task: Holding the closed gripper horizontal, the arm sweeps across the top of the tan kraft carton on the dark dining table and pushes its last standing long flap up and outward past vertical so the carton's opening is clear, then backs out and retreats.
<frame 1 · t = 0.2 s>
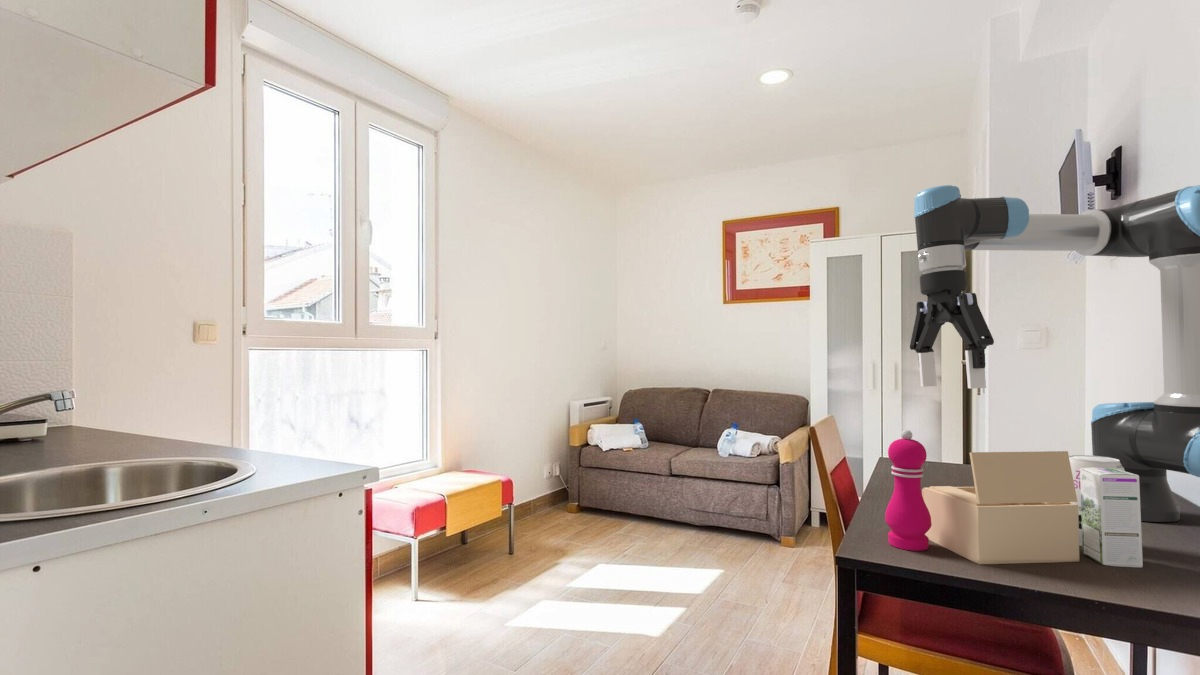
hand: (951, 387, 110), 27 cm above the table, tool pointing down, fingers open, 13 cm apart
long flap: (1023, 477, 97), point 13 cm above the table, hinge at 12.0°
pepper mill: (908, 546, 104), on the table
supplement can: (1095, 545, 105), on the table
syrup box: (1111, 562, 97), on the table
carton: (997, 548, 102), on the table
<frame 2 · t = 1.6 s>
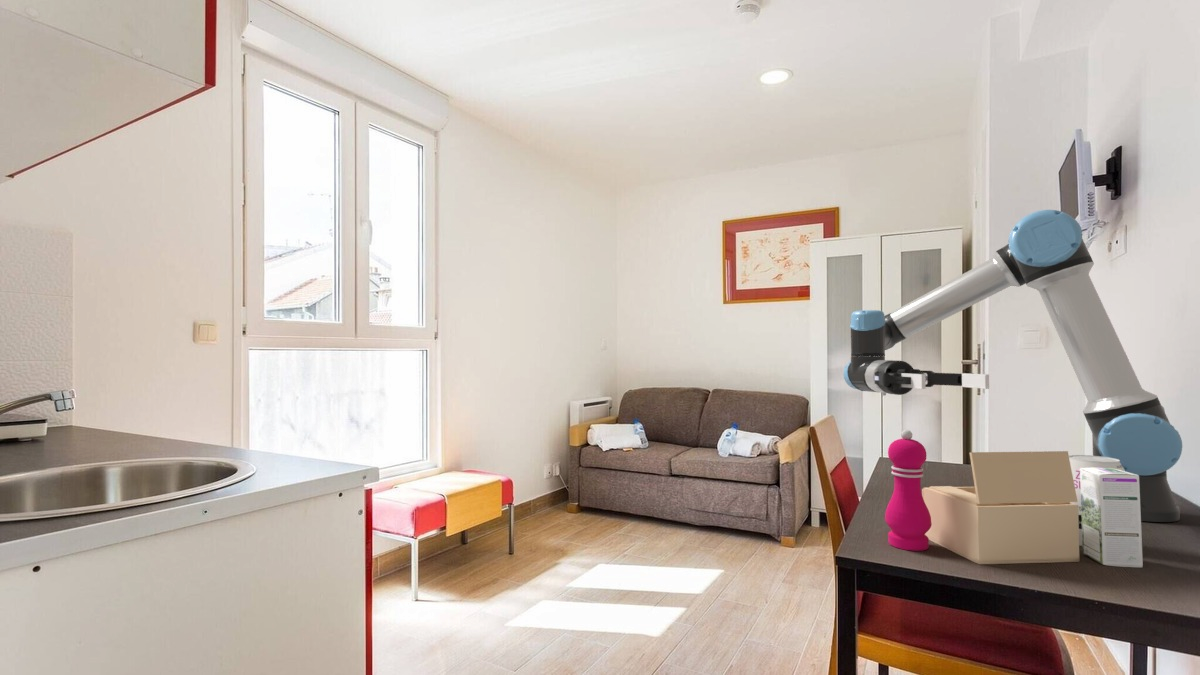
hand: (955, 381, 113), 28 cm above the table, tool horizontal, fingers open, 12 cm apart
nothing on the table moved.
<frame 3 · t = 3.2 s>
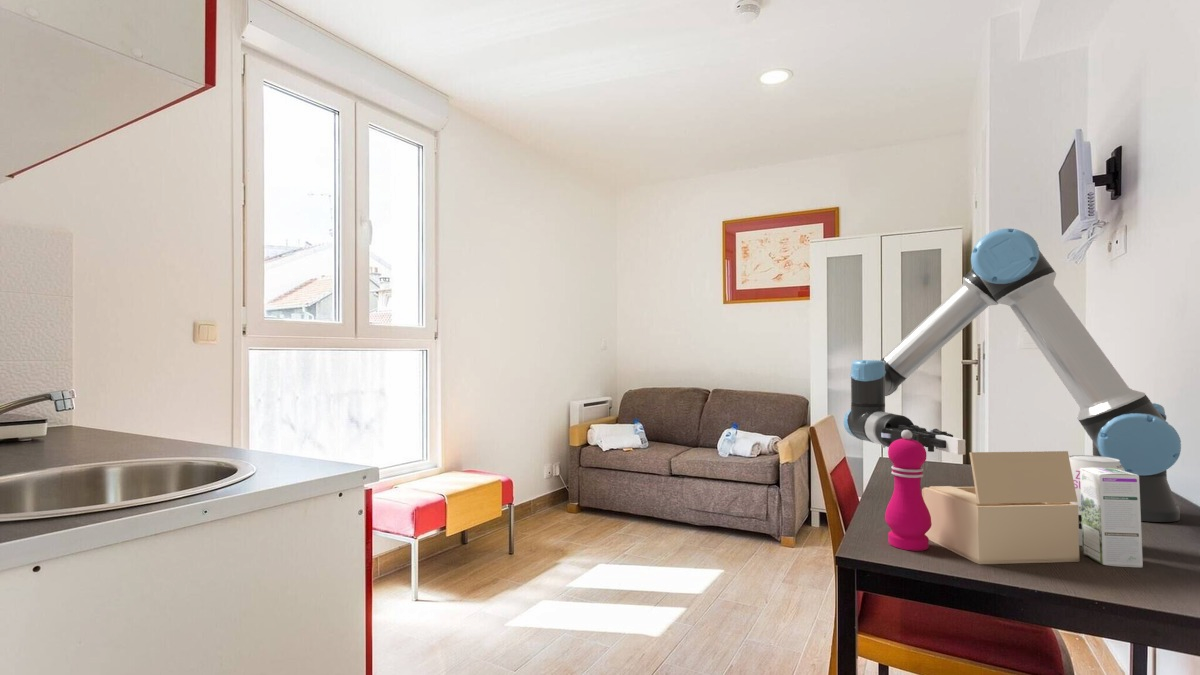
hand: (961, 447, 111), 16 cm above the table, tool horizontal, fingers closed
nothing on the table moved.
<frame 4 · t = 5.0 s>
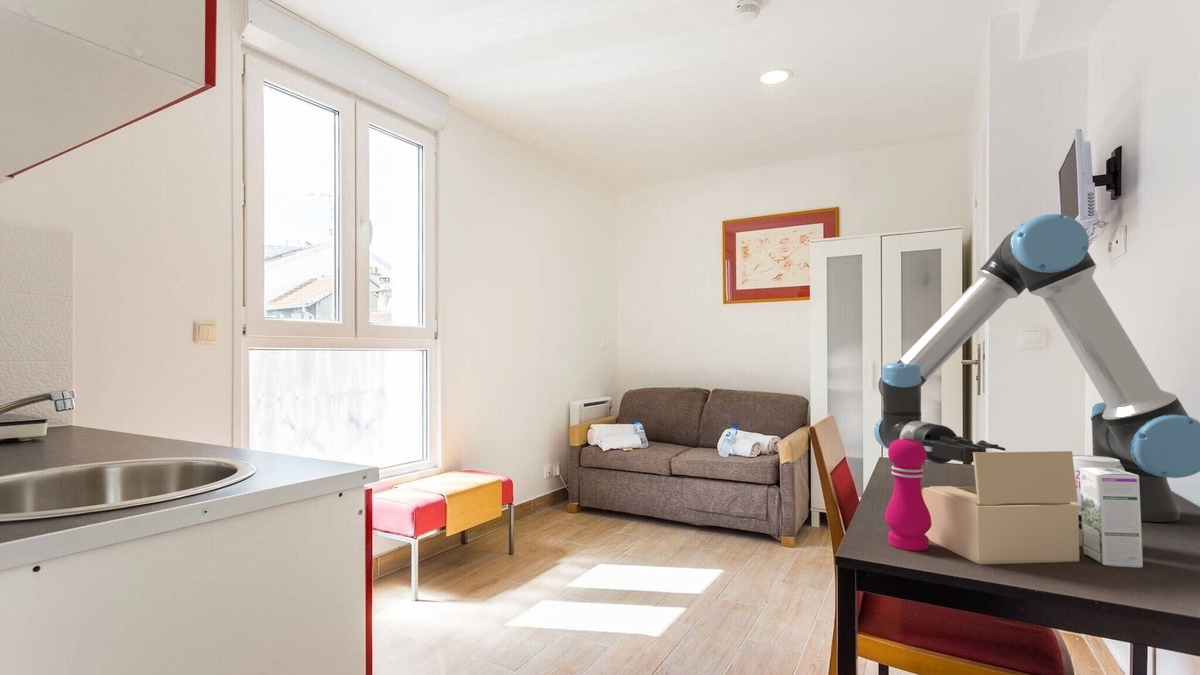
hand: (1018, 463, 97), 16 cm above the table, tool horizontal, fingers closed
long flap: (1025, 477, 96), point 13 cm above the table, hinge at 6.5°, touching gripper
everything else where it was.
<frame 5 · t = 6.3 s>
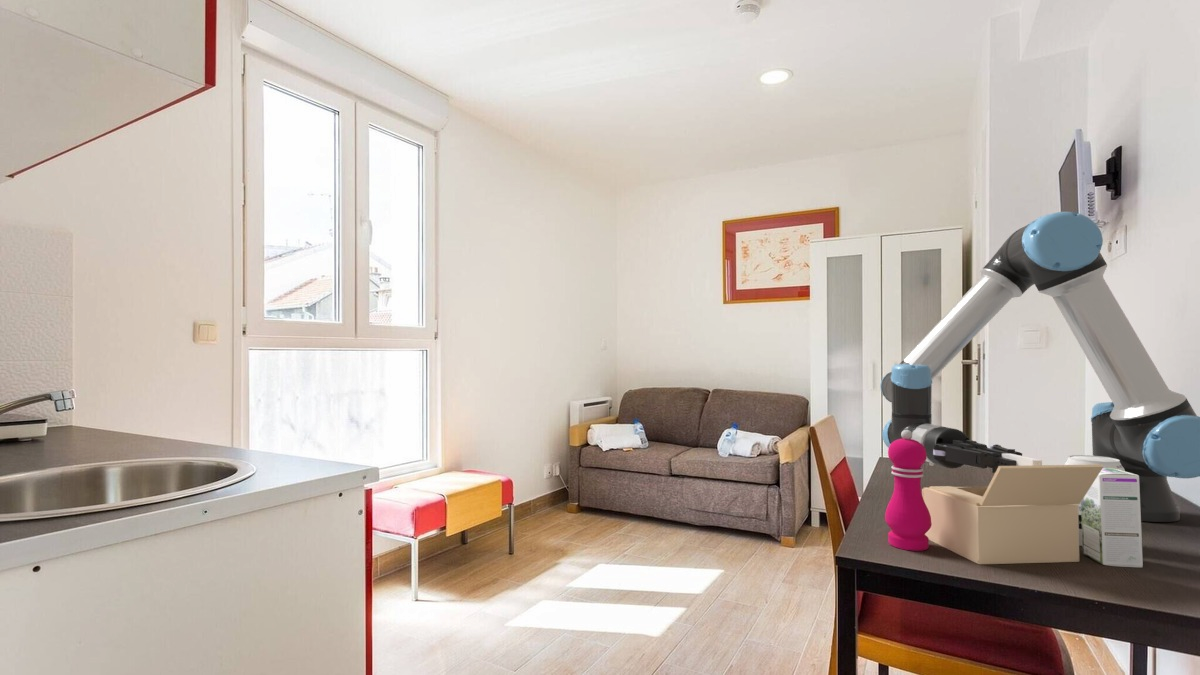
hand: (1037, 469, 93), 15 cm above the table, tool horizontal, fingers closed
long flap: (1040, 485, 93), point 13 cm above the table, hinge at -33.0°, touching gripper
everything else where it was.
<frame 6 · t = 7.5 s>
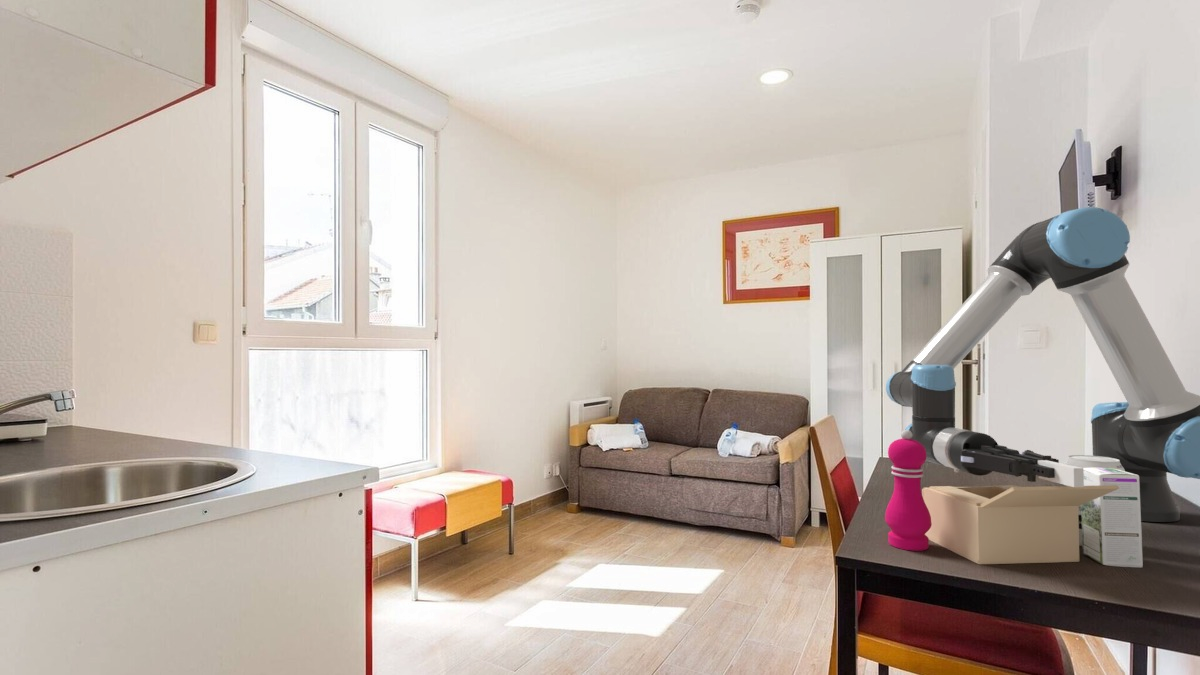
hand: (1078, 477, 86), 15 cm above the table, tool horizontal, fingers closed
long flap: (1047, 496, 92), point 11 cm above the table, hinge at -58.2°
everything else where it was.
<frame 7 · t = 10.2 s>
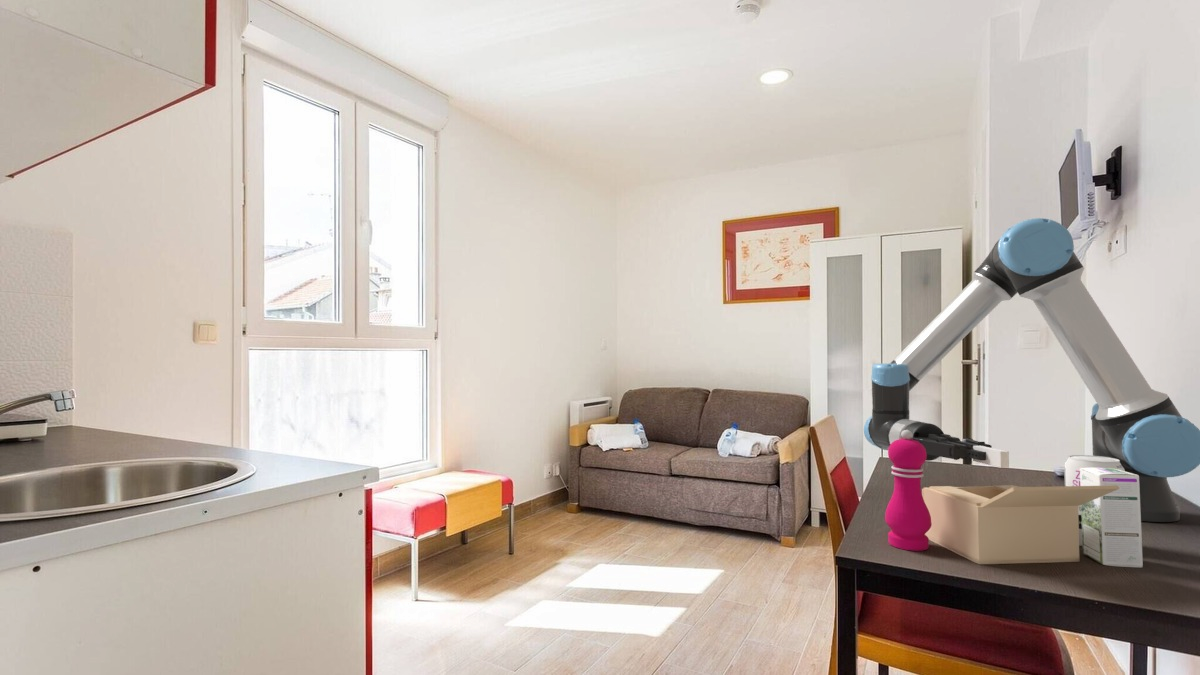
hand: (1004, 459, 101), 16 cm above the table, tool horizontal, fingers closed
nothing on the table moved.
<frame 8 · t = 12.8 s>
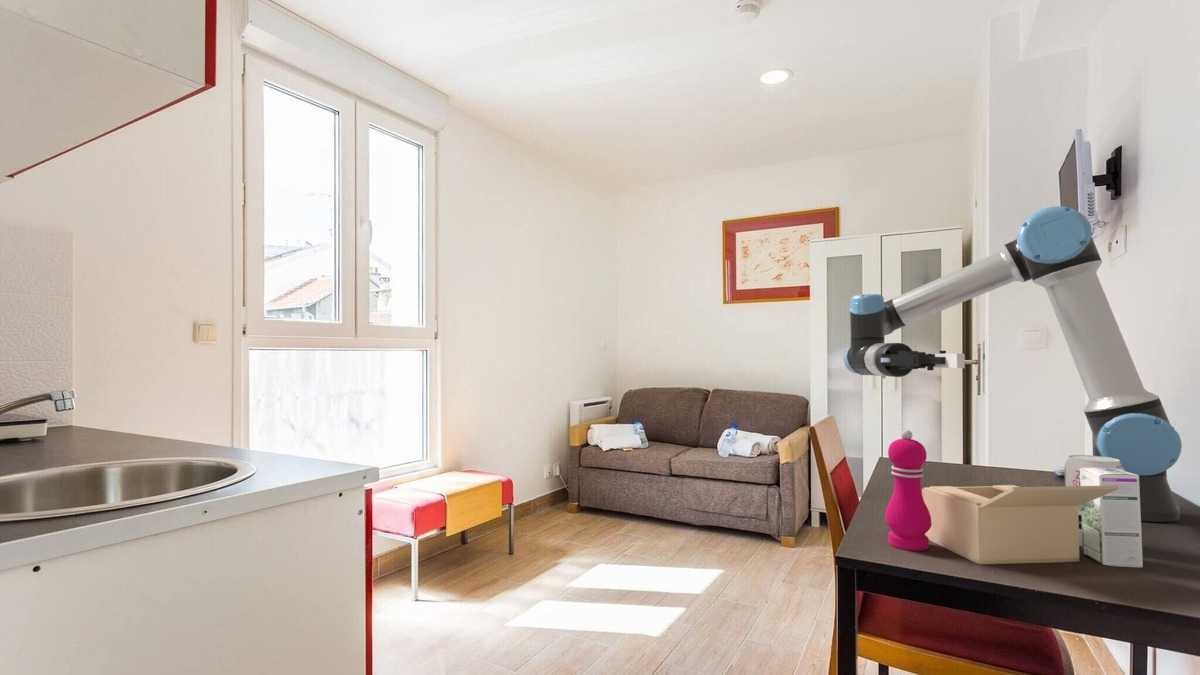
hand: (960, 360, 112), 32 cm above the table, tool horizontal, fingers closed
nothing on the table moved.
at the end: long flap at -58° (first picture: +12°); the gripper is holding nothing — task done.
